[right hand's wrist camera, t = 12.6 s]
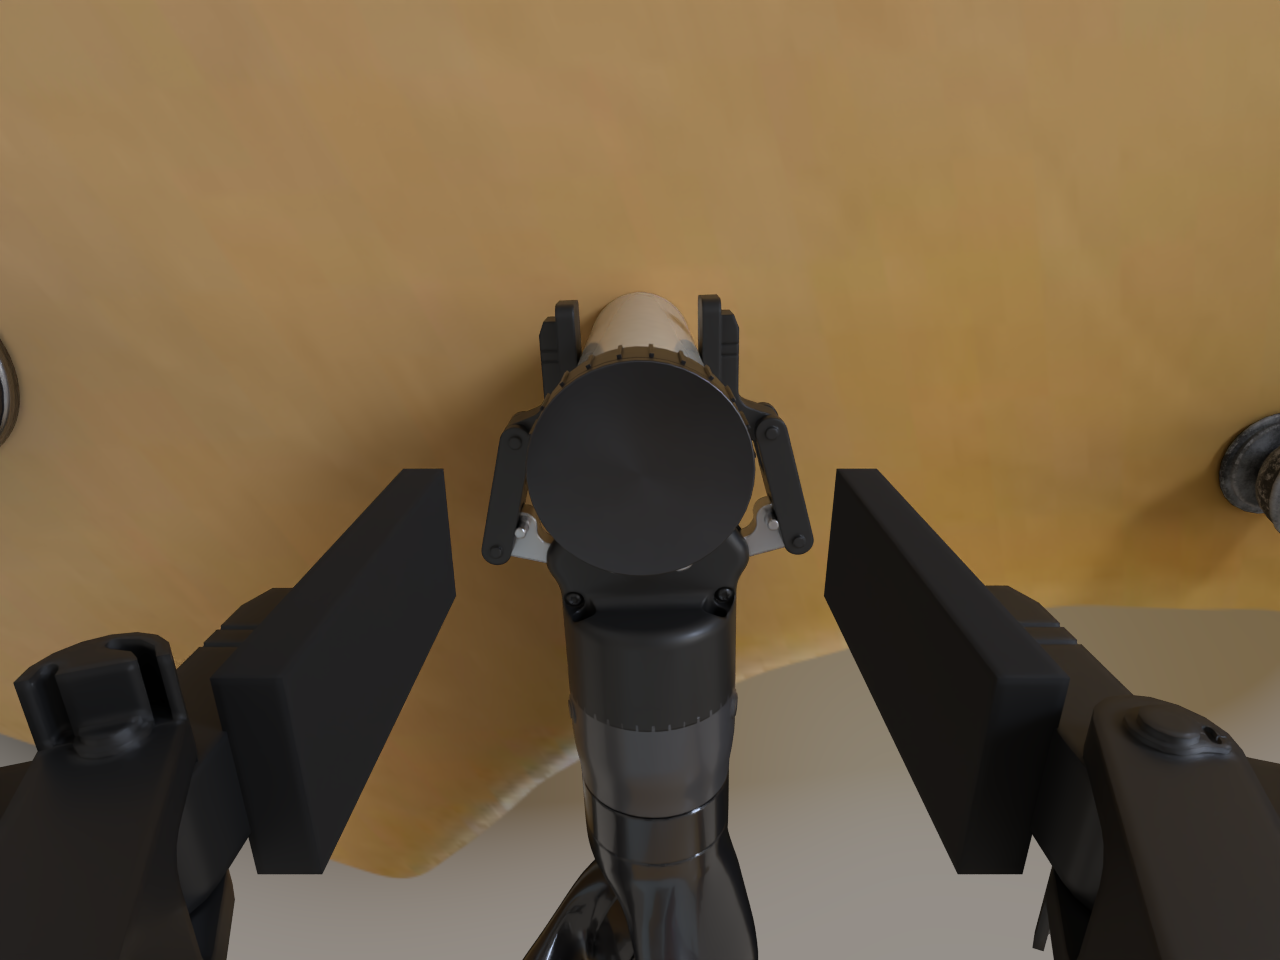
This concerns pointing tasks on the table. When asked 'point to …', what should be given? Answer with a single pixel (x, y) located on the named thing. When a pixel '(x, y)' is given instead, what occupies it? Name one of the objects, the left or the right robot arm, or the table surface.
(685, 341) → the jar
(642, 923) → the left robot arm
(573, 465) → the lid
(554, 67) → the table surface
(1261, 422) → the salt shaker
